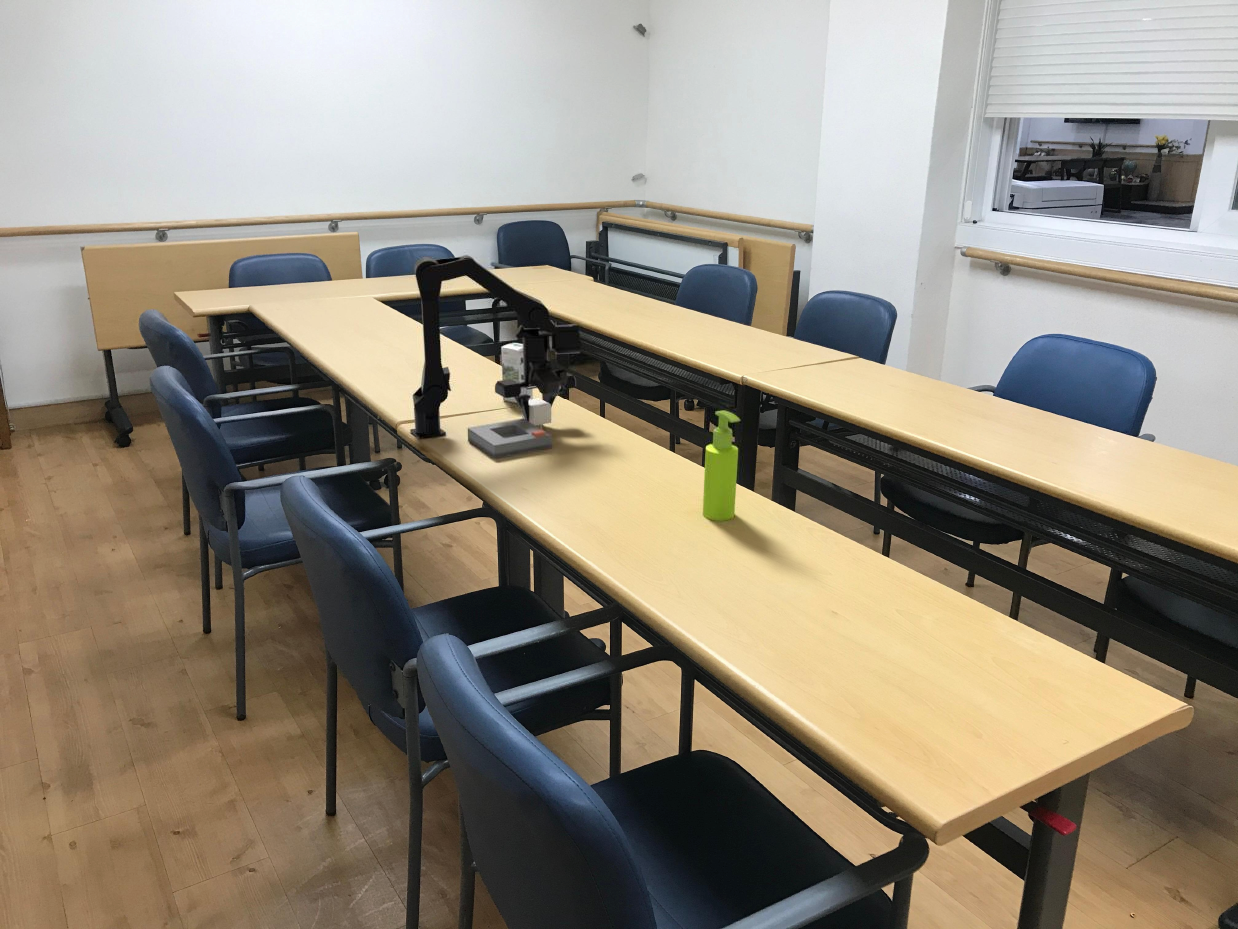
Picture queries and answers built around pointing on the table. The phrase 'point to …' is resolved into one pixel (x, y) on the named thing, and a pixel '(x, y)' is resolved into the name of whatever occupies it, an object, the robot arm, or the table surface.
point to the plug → (539, 412)
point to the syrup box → (513, 366)
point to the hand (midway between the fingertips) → (536, 419)
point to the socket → (509, 438)
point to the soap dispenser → (721, 471)
